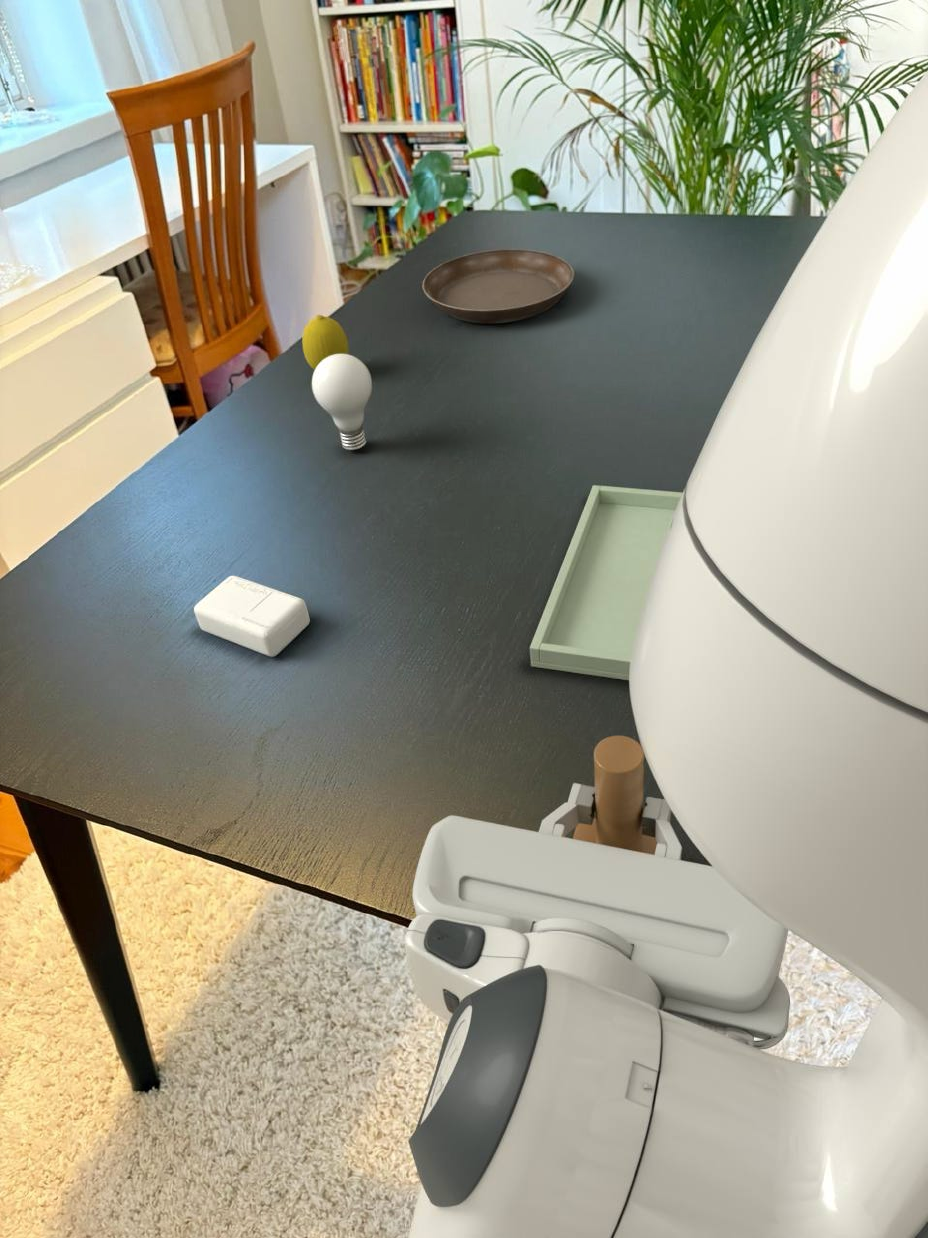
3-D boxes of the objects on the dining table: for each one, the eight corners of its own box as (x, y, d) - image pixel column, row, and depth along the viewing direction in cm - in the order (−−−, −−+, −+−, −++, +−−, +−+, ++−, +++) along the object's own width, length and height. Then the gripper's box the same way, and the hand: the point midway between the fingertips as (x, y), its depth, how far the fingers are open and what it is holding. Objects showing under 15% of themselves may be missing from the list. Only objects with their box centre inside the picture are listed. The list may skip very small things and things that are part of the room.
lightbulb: (361, 468, 105) (342, 375, 98) (315, 457, 108) (293, 365, 100) (394, 440, 109) (378, 348, 101) (349, 429, 111) (330, 339, 104)
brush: (671, 865, 63) (678, 736, 55) (661, 918, 61) (666, 790, 52) (580, 847, 65) (574, 719, 57) (566, 898, 62) (558, 771, 54)
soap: (198, 632, 87) (188, 606, 85) (239, 596, 90) (230, 570, 88) (274, 662, 83) (266, 635, 81) (314, 623, 86) (307, 596, 84)
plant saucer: (600, 279, 136) (600, 256, 134) (528, 342, 123) (526, 317, 121) (475, 263, 146) (473, 241, 143) (396, 320, 133) (392, 296, 131)
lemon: (361, 368, 123) (349, 307, 118) (339, 389, 119) (326, 327, 114) (324, 364, 125) (311, 304, 120) (301, 384, 121) (287, 323, 116)
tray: (758, 517, 91) (760, 498, 89) (728, 695, 74) (730, 675, 73) (593, 502, 95) (592, 484, 94) (530, 666, 79) (529, 647, 77)
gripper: (792, 1033, 44) (810, 795, 53) (374, 932, 50) (458, 735, 60) (778, 1094, 48) (797, 863, 57) (393, 994, 54) (469, 800, 64)
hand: (622, 797), depth 59 cm, fingers open, 3 cm apart
